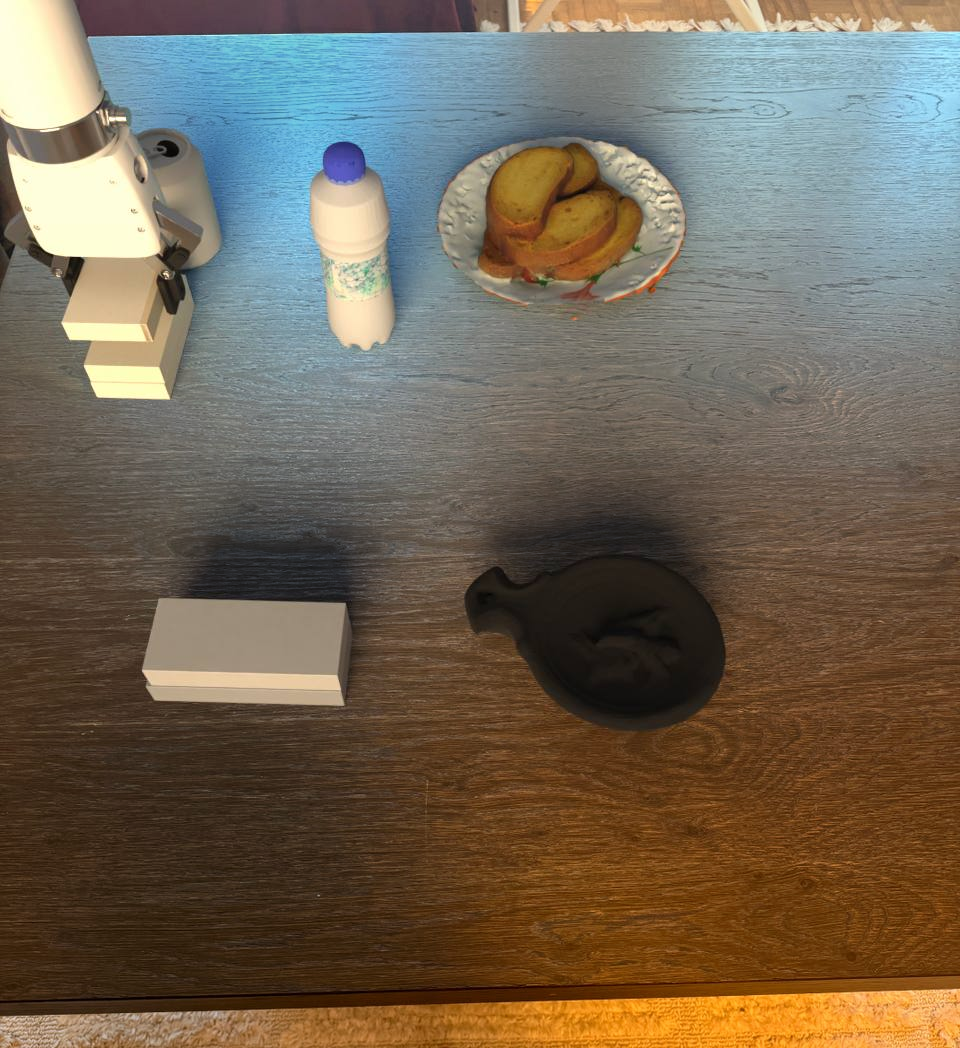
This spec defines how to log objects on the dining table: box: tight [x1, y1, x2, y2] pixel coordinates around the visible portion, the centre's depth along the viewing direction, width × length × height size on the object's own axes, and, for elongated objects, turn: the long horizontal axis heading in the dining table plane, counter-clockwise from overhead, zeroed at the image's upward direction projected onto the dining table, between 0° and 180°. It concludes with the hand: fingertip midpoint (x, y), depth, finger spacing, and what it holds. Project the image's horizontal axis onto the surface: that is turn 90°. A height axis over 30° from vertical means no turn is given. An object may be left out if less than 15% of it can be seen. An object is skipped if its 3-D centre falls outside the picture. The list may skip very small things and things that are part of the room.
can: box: [134, 127, 223, 271], centre depth 93 cm, size 8×8×12 cm
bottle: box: [309, 140, 397, 352], centre depth 84 cm, size 7×7×20 cm
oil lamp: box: [463, 553, 727, 733], centre depth 71 cm, size 15×20×5 cm
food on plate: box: [436, 136, 687, 321], centre depth 97 cm, size 25×25×7 cm
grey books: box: [141, 597, 353, 707], centre depth 70 cm, size 14×6×5 cm, turn 89°
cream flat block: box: [61, 228, 178, 342], centre depth 83 cm, size 12×7×2 cm, turn 179°
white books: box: [83, 273, 196, 400], centre depth 89 cm, size 12×7×4 cm, turn 179°
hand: (131, 301), depth 85 cm, fingers closed on cream flat block, 7 cm apart
